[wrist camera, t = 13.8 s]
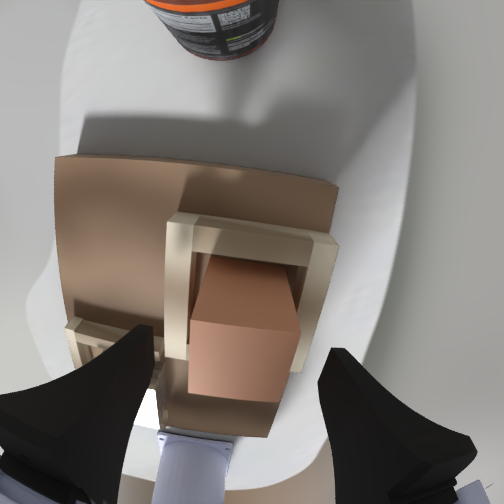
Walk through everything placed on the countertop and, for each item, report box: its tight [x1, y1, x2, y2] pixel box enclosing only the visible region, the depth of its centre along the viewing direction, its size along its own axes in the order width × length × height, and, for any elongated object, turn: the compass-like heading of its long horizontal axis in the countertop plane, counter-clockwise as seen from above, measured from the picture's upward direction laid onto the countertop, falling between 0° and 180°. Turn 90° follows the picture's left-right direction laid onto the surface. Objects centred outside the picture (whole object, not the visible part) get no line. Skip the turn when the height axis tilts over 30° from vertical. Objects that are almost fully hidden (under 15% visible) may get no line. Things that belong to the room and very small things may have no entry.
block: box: [102, 349, 167, 429], centre depth 18 cm, size 4×4×3 cm
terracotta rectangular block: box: [188, 257, 301, 402], centre depth 14 cm, size 4×4×6 cm
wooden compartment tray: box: [54, 154, 339, 438], centre depth 18 cm, size 21×16×4 cm
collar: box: [164, 212, 339, 373], centre depth 15 cm, size 8×8×2 cm
